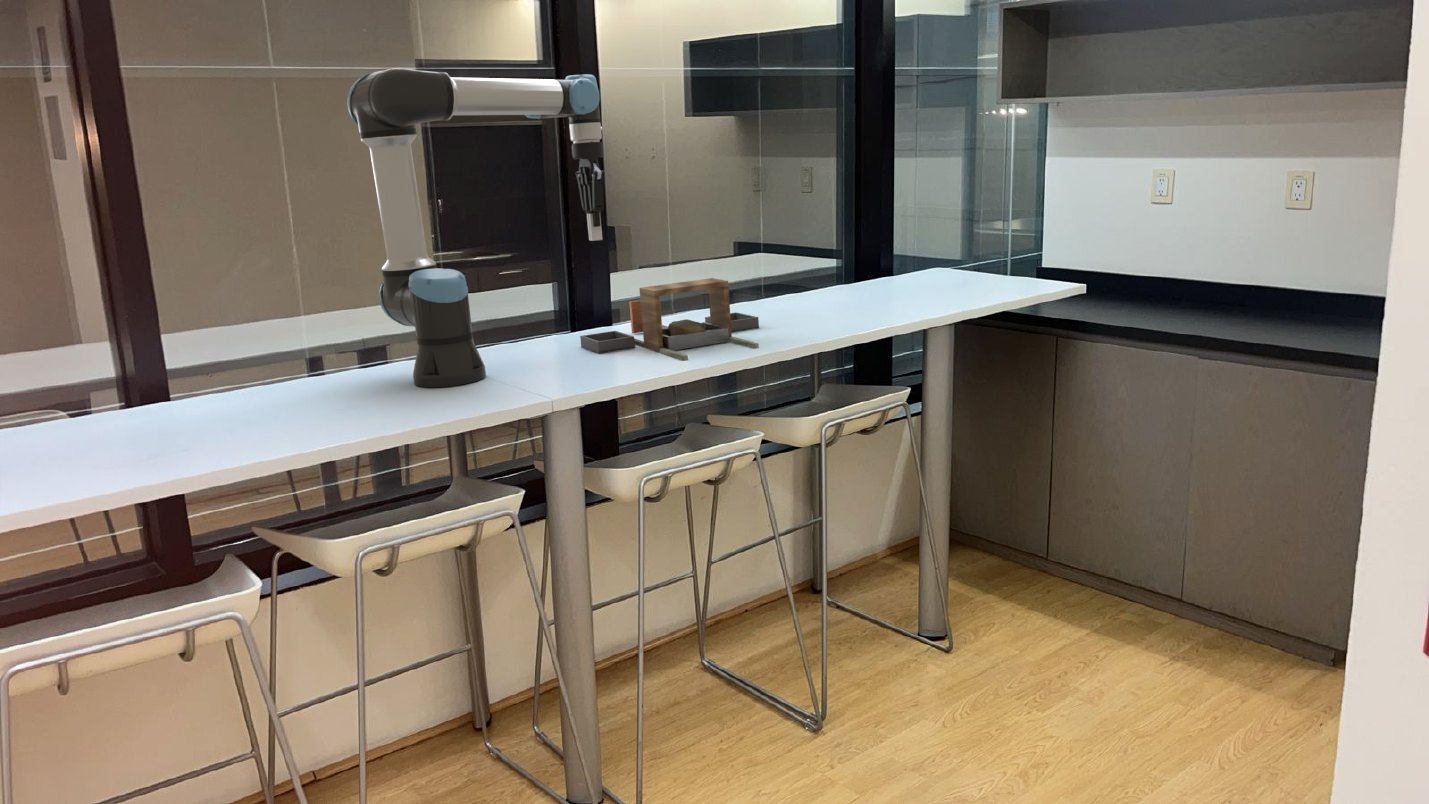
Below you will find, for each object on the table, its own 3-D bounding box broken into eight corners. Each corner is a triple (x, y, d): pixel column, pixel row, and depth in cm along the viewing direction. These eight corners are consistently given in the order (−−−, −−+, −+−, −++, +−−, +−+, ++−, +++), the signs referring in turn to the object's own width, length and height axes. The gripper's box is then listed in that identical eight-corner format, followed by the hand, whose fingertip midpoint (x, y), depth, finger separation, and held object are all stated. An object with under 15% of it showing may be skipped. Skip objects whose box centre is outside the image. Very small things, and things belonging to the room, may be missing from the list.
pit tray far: (726, 333, 261) (726, 322, 260) (705, 327, 270) (704, 317, 270) (758, 328, 265) (758, 317, 264) (737, 323, 275) (736, 312, 274)
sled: (669, 351, 242) (666, 316, 240) (618, 334, 267) (615, 303, 265) (728, 341, 249) (726, 307, 247) (673, 326, 274) (671, 295, 272)
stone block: (689, 338, 256) (688, 317, 255) (709, 345, 246) (707, 324, 245) (667, 341, 254) (666, 320, 253) (686, 348, 244) (684, 327, 243)
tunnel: (683, 360, 232) (678, 296, 228) (616, 338, 264) (611, 282, 260) (758, 347, 240) (755, 285, 237) (685, 328, 272) (681, 273, 269)
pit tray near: (598, 353, 246) (597, 342, 245) (581, 347, 255) (580, 335, 255) (634, 348, 250) (633, 336, 249) (616, 341, 259) (615, 330, 259)
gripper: (612, 139, 251) (620, 239, 257) (590, 141, 263) (599, 237, 269) (582, 141, 248) (591, 243, 253) (562, 143, 260) (571, 240, 265)
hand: (595, 239), depth 261 cm, fingers closed
